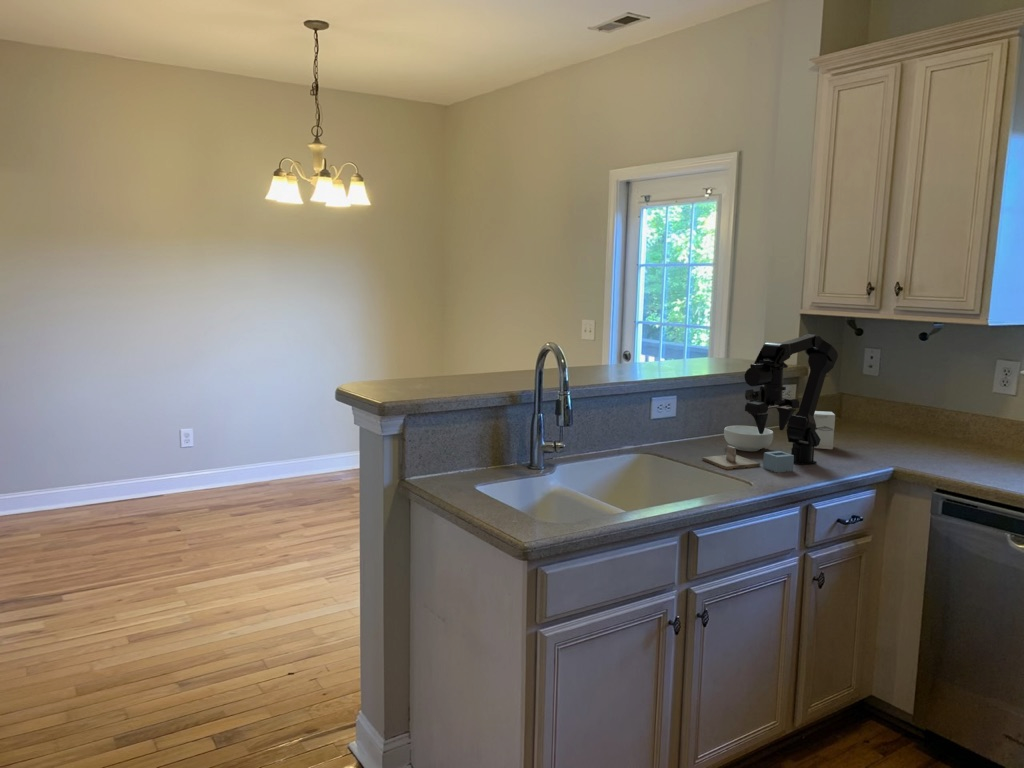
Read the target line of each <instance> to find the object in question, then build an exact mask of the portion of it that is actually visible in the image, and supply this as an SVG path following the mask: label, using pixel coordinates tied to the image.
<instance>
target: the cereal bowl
mask: <svg viewBox="0 0 1024 768" xmlns="http://www.w3.org/2000/svg"><path fill="white" fill-rule="evenodd" d="M723 437H724V440H725V441H726V443H728V444H729V445H730V446H733V447H735V448H736V450H738V451H743V452H758V451H760V449H761V450H762V449H764V448H767V447H769V446H770V445H771V444H772V442H773V440H774V431H773V430H771V429H769V428H766V427H765V428H764V432H763V434H760V433H759V431H758V428H757V426H753V425H729V426H728V425H727V426H726V427H724V429H723Z"/></svg>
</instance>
